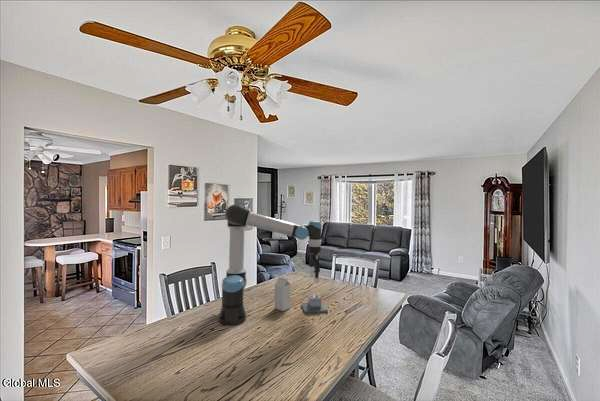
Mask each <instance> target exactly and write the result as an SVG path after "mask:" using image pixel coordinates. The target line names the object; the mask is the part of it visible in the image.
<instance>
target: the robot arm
mask: <svg viewBox="0 0 600 401" xmlns="http://www.w3.org/2000/svg"><path fill="white" fill-rule="evenodd" d="M224 215H225V218H226V221H227V225H226V226H227V228H228V229H229V256H228V268H227V270H226V271H225V272H226V274H225V275H226V276H225V277H224V278H223V279H222V282H221V308H220V311H219V314H218V323H219V324H221V325H224V326H236V325H240V324H243V323H244V322H245V321H246V320H247V313H246V309H245V307H244V292H245V291H244V290H245V288H246V285H247V283H248V282H247V276H246V275H247V271H246V269H245V268H244V264H245V263H244V257H245V256H244V255H245V254H244V252H245V229H246V228H247V227H248V226H250V227H253V228H256V229H262V230H265V231H269V232H273V233H276V234H281V235H285V236H289V237H292V238H295V239H296V238H297V240H301V241H302V240H303V241H304V240H306V239H307V238H308V252H309V254H310V255H309V260H308V261H309V264H308V265H309V278H313V283H314V284H319V282H320V281H319V279H320V273H321V267H320V266H321V265H320V256H319V253H321V252H322V250H321V249H322V246H321V245H322V244H321V243H322V222H321V221H318V220H310V221H309V223H306V224H304V223H292V222H289V221H285V220H282V219H277V218H274V217H270V216H267V215H263V214H259V213H255V212H252V210H251V209H247V207H246V206H244V204H240V203H235V204H231V205H230V206H228V207H227V208H226V211H225V214H224Z"/></svg>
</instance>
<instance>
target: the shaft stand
mask: <svg viewBox="0 0 600 401" xmlns="http://www.w3.org/2000/svg"><path fill="white" fill-rule="evenodd" d="M311 295H312V298H316V295H317V294H311ZM300 306H301V308H302V310H303V313H304V314H305V315H308V314H325V313H326V314H327V313H328V312H329V309H328V308H327V306H326V305H325V303H324V302H323V301H321V308H313V309H310V308H309V306H308V302H301V303H300Z"/></svg>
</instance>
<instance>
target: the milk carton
mask: <svg viewBox="0 0 600 401" xmlns="http://www.w3.org/2000/svg"><path fill="white" fill-rule="evenodd" d="M291 286H292V285H291V282H289V280H288V278H284V277H281V276H278V279H277V280H276V282H275V283H274V309H275V310H279V311H281V312H284V311H287V310H289V309H291V300H292V299H291V297H292V296H291V291H292V290H291V288H292V287H291Z"/></svg>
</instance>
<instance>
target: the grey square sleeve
mask: <svg viewBox="0 0 600 401" xmlns="http://www.w3.org/2000/svg"><path fill="white" fill-rule="evenodd" d="M312 295H313V294H307V303H308V306H309V308H310V309H313V308H321V302H322V297H321V296H320V294H315V295H316V298H312Z"/></svg>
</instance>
